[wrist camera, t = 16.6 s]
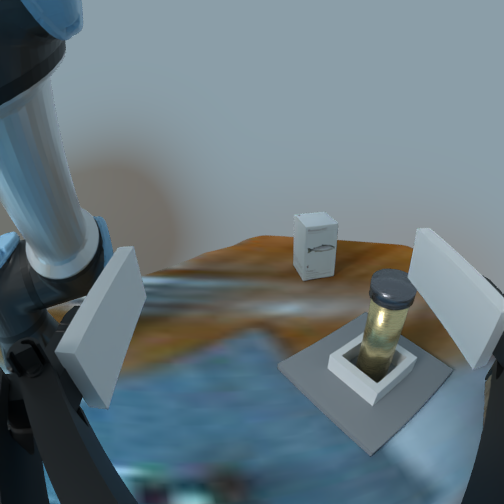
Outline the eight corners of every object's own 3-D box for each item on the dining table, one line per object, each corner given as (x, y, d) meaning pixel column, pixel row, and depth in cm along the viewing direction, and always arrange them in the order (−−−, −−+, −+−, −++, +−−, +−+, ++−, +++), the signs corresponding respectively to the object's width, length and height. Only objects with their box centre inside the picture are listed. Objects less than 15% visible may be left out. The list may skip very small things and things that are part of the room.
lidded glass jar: (344, 369, 42) (361, 279, 35) (369, 351, 45) (389, 264, 38) (372, 392, 38) (400, 302, 31) (396, 371, 41) (425, 283, 33)
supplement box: (302, 282, 66) (304, 227, 60) (292, 265, 72) (293, 213, 66) (334, 276, 67) (339, 223, 61) (322, 260, 73) (325, 210, 67)
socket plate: (277, 368, 45) (277, 350, 43) (365, 316, 54) (368, 298, 52) (370, 456, 30) (379, 442, 28) (451, 373, 39) (459, 356, 37)
